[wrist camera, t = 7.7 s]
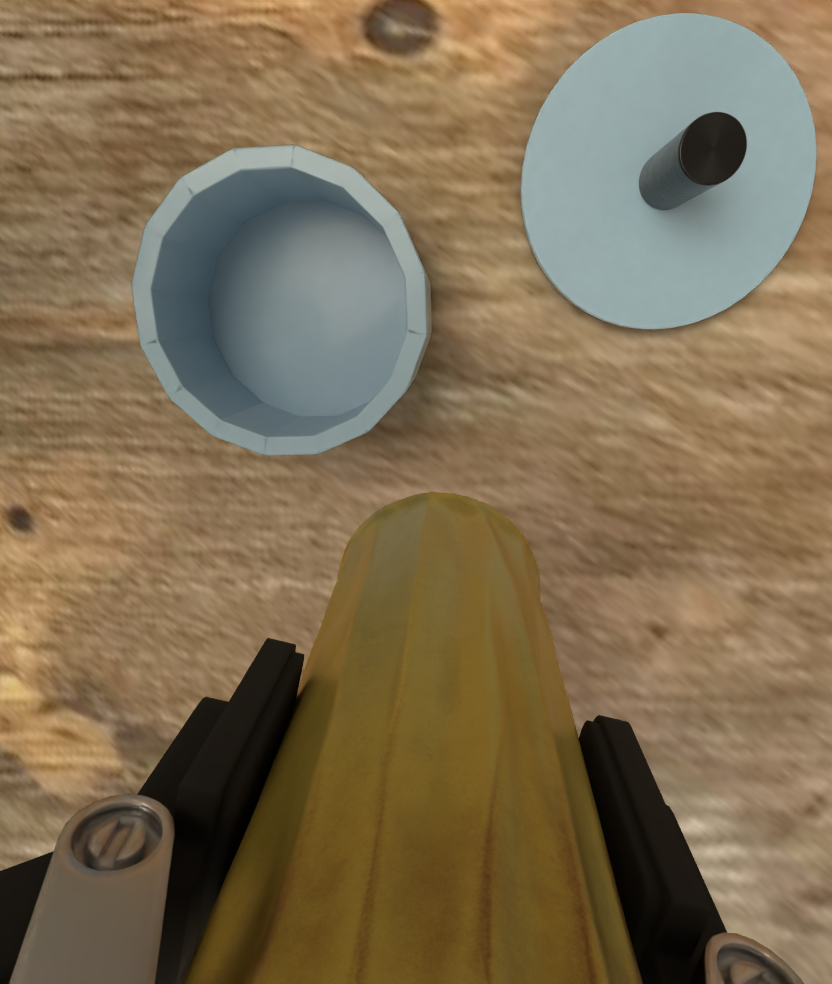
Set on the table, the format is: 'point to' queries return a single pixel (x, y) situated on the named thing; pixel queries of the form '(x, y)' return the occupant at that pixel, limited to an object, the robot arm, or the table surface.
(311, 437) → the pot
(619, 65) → the lid
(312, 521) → the table surface
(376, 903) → the vase
